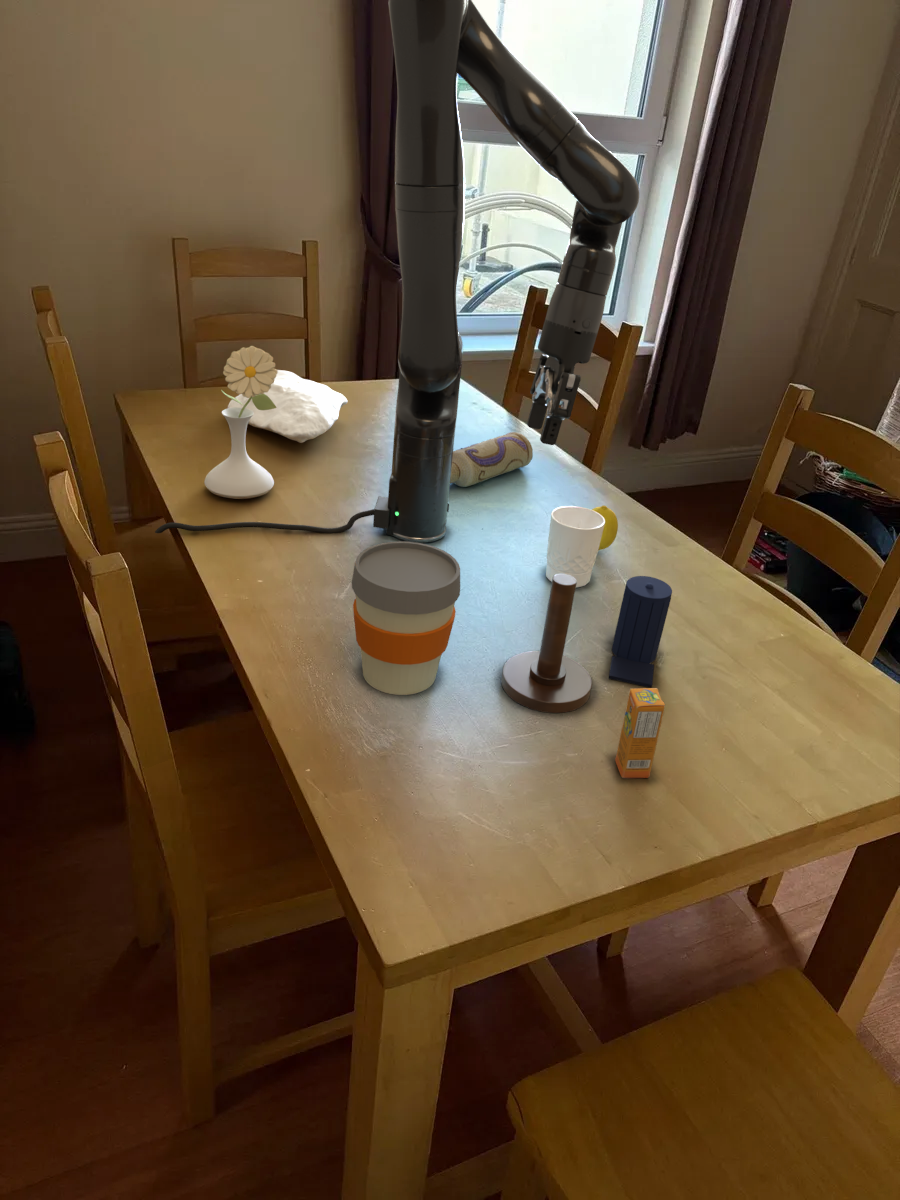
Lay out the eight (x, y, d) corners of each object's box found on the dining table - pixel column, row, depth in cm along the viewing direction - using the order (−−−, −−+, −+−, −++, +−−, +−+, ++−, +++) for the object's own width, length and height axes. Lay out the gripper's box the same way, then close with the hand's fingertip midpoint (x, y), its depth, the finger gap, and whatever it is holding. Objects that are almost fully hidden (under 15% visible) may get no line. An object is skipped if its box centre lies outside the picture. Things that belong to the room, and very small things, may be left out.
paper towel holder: (500, 707, 105) (516, 597, 97) (501, 655, 114) (517, 552, 107) (593, 718, 105) (616, 609, 97) (587, 665, 114) (608, 562, 107)
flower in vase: (190, 495, 147) (182, 343, 135) (230, 472, 156) (225, 328, 144) (258, 513, 143) (256, 359, 131) (295, 490, 153) (296, 343, 140)
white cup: (597, 572, 137) (609, 513, 132) (587, 595, 130) (599, 533, 125) (548, 560, 139) (558, 501, 134) (535, 582, 132) (545, 521, 127)
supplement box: (611, 759, 98) (628, 685, 93) (641, 759, 99) (660, 686, 94) (618, 779, 96) (637, 704, 91) (649, 780, 96) (669, 705, 91)
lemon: (611, 561, 140) (621, 515, 136) (577, 555, 141) (585, 509, 137) (613, 546, 145) (622, 501, 141) (579, 541, 146) (587, 496, 142)
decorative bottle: (502, 458, 175) (506, 426, 171) (531, 471, 170) (537, 438, 167) (407, 488, 158) (410, 453, 154) (438, 503, 153) (441, 467, 150)
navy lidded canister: (613, 636, 121) (628, 568, 116) (656, 645, 120) (673, 577, 115) (606, 678, 112) (622, 607, 107) (653, 688, 111) (671, 616, 106)
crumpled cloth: (322, 389, 197) (316, 349, 192) (384, 444, 171) (380, 399, 166) (218, 412, 189) (209, 370, 184) (266, 473, 162) (258, 426, 157)
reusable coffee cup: (413, 718, 101) (423, 605, 94) (326, 677, 107) (329, 567, 99) (469, 669, 111) (482, 563, 103) (387, 633, 116) (394, 530, 109)
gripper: (535, 309, 129) (506, 418, 135) (559, 325, 116) (526, 444, 122) (583, 321, 131) (552, 428, 137) (612, 337, 118) (577, 454, 124)
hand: (540, 435), depth 130 cm, fingers open, 8 cm apart
